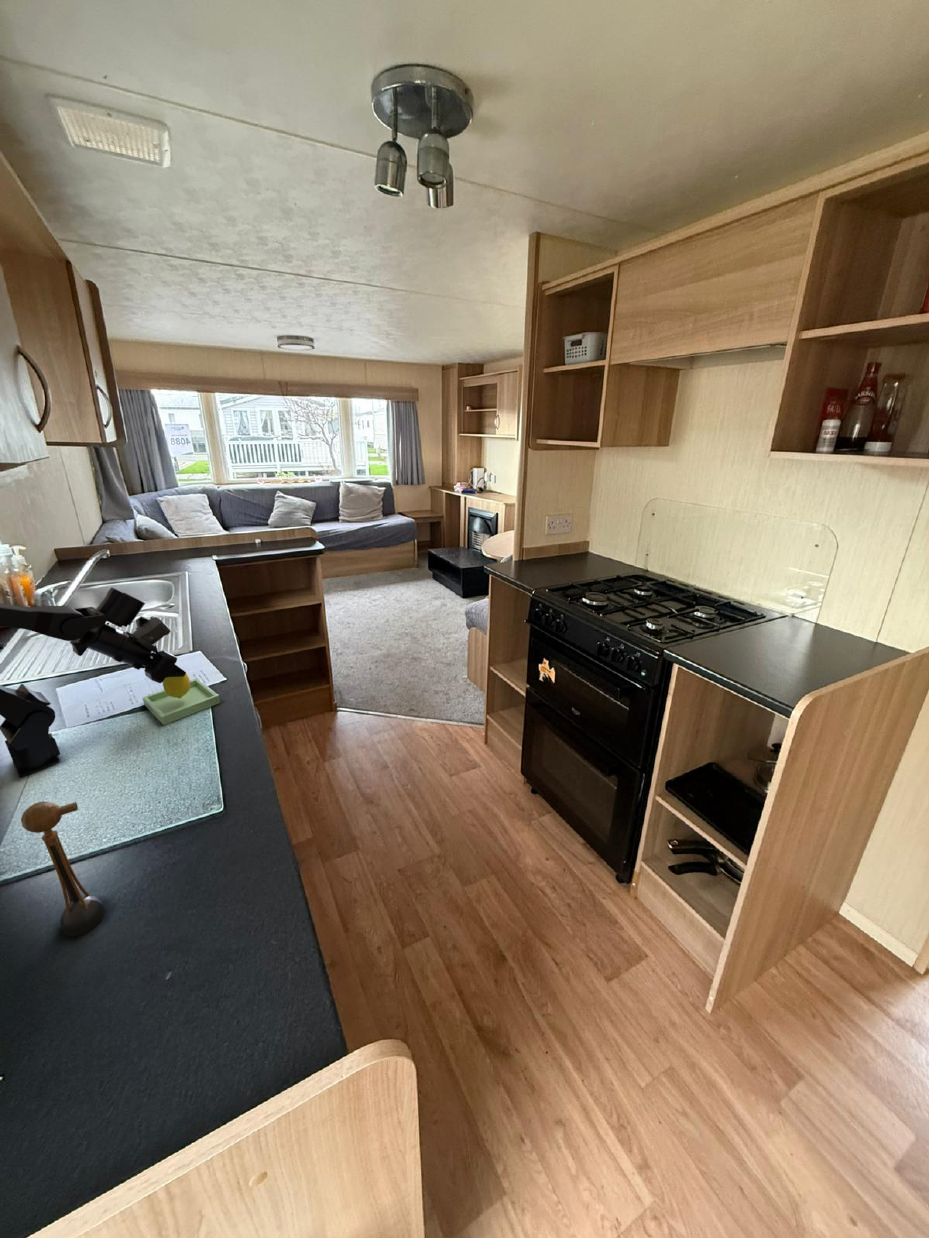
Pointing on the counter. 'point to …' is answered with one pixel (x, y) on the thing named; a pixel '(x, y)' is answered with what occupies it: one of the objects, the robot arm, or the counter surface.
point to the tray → (181, 702)
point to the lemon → (176, 686)
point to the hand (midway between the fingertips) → (180, 671)
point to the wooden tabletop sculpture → (64, 868)
